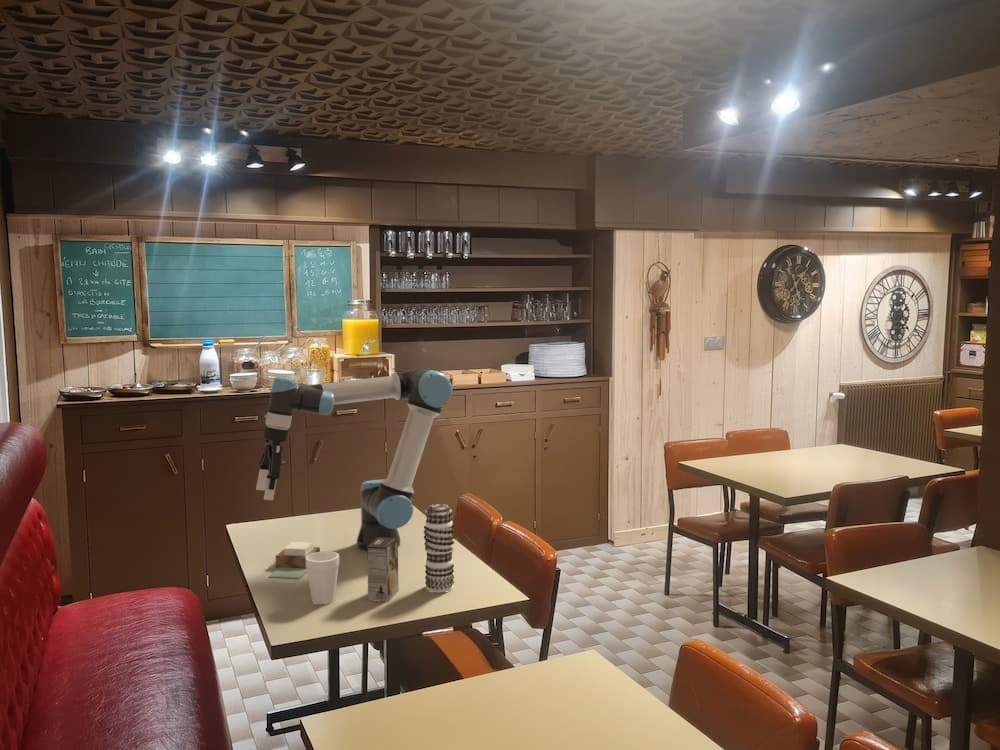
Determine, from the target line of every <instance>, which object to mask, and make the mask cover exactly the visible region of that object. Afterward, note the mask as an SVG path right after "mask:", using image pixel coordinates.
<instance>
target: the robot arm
mask: <svg viewBox="0 0 1000 750" xmlns="http://www.w3.org/2000/svg"><path fill="white" fill-rule="evenodd" d="M452 395H453V385H452V382H451V381H450V379H449V378H448V376H447V375H445V374H444V373H442V372H440V371H438V370H434V369H433V370H432V369H427V368H414V369H410V370H405V371H399V372H398V371H397V372H393V373H392V374H391V375H388V376H379V377H371V378H363V379H362V378H360V379H354V380H353V379H352V380H345V381H335V382H325V383H318V384H317V383H315V384H299V381H298V380H297V379H293V378H287V377H283V376H279V377H278V376H276V377H275V378H274V379H273V382H272V386H271V390H270V397H269V403H268V405H267V407H268V408H267V413H266V414H264V418H265V426H264V427H263V431H262V432H263V433H262V438H263V439H264V440H265V443H264V447H263V451H262V453H261V456H260V459H259V462H258V465H259V470H258V471H259V472H258V477H257V481H256V488H255V490H256V491H264V496H263V500H266V501H274V497H275V493H276V488H277V487H276V486H277V481H278V479H280V478H281V463H282V451H283V446H282V445H281V442H287V441H288V440H289V434H290V430H289V429H290V428H291V423H292V419H293V413H294V411H296V412H304V413H310V414H317V415H320V416H321V415H322V416H323V415H324V416H329V415H330V414H332V412H333V409H334V407H335V405H343V404H350V403H361V402H367V401H368V402H369V401H377V400H383V399H395V400H396V401H401V400H407V403H406V405H407V406H408V409H409V411H408V414H407V418H406V421H405V424H404V427H403V430H402V433H401V435H400V439H399V441H398V445H397V447H396V451H395V454H394V456H393V457H394V458H393V460H392V462H391V466H390V469H389V472H388V475H387V477H386V478H385V479H373V480H372V479H371V480H367V481H363V482H362V483H361V485H360V491H359V492H360V513H361V515H360V516H361V523H360V528H359V532H358V535H357V537H356V547H357V548H358V549H360V550H362V551H366V552H367V546H368V545H369V544H371V543H372V542H373V541H374V540H375V539H377V538H378V537H383V538H398V547H399V546H400V545H401V535H400V533H399V530H398V529H401V528H402V527H404V526H405V525H407V524H408V523H410V520H411V519H412V517H413V514H414V506H413V503H412V501H413V498H414V494H415V490H414V488H413V483H414V479H415V477H416V473H417V470H418V468H419V465H420V461H421V459H422V456H423V453H424V451H425V450H424V449H425V446H426V443H427V440H428V438H429V434H430V431H431V429H432V425H433V422H434V420H435V418H436V417H438V416H440V415H441V412H442V410H443V406H445V405H447V404H448V403H449V402H450V400H451V398H452Z"/></svg>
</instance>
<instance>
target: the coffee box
mask: <svg viewBox="0 0 1000 750" xmlns="http://www.w3.org/2000/svg"><path fill="white" fill-rule="evenodd" d="M398 550H399V546H398V538H383V537H378V538H377V539H375V540H374V541H373V542H372V543H371V544H369V545H368V546H367V551H366V558H367V559H366V562H367V566H366V567H367V600H368V601H373V600H376V601H375V602H386V601H388V602H389V601H390V600H391V599H392V598H394V596H395V595H396V594H397V592H398V591H399V584H400V583H399V551H398ZM377 600H379V601H377Z"/></svg>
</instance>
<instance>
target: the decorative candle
mask: <svg viewBox="0 0 1000 750" xmlns="http://www.w3.org/2000/svg"><path fill="white" fill-rule="evenodd" d="M424 512H425V513H426V515H425V517H426V520H425V525H424V526H423V529H424V531H423V533H424V536H423V539H424V541H425V542H424V544H423V545H424V551H425V553H426V559H425V562H426V564H425V565H424V566H425V571H424V572H425V577H424V579H425V582H424V583H425V585H426V586H425V590H426V589H427V590H428V591H427V590H426V591H427V592H429V591H431V592H430V593H433V592H437V593H436V594H441V593H440V592H445V593H447V592H446V591H449V592H450V590H451V589H453V590H454V588H455V586H454V583H455V581H454V579H455V576H454V572H455V570H454V566H455V565H454V563H453V562H454V561H453V552H454V547H453V545H454V544H455V541H454V539H455V536H454V535H453V533H454V532H455V531H456V530H455V528H454V527H455V526H456V524H454V523H453V513H452V512H453V510H452V508H450V506H449V505H447V504H445V503H434V504H431V505H428V507H427V509H426V510H424ZM453 587H454V588H453ZM451 591H452V590H451ZM438 592H439V593H438Z"/></svg>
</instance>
